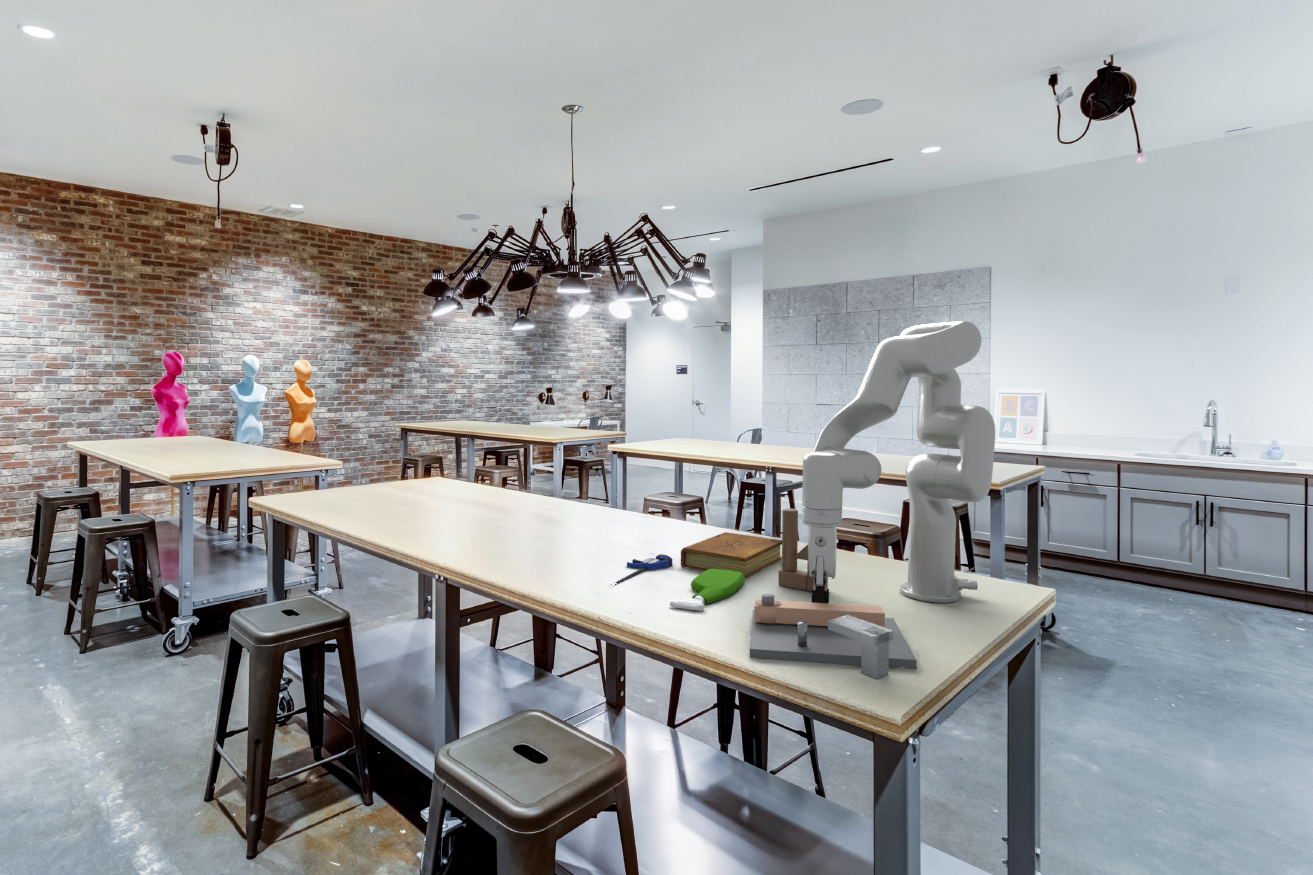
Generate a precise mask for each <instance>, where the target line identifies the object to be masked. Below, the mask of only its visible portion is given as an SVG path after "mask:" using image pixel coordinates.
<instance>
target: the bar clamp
mask: <svg viewBox="0 0 1313 875" xmlns="http://www.w3.org/2000/svg"><path fill="white" fill-rule="evenodd" d="M631 560H632V562H629V561H627V562H626V567H627V568H629V567H630V569H637V570H635V571H634V572H632V573H630V574H628V575H626V576H624V577H622V578H621V579H618V580H617V581H615V582H614V583H617V585H619V584H621V583H623V582H625V581H627V580H628V579H631V578H632V577H634V576H636V575H638V574H640V573H642V572H643V571H656V569H657V570H663V569H669V568H671V567H673V558H672V557H671V556H670V555H667V554H662V553H660V554H657V555H656V556H655V558H652V557H648V558H647V559H644V560H638V559H636V558H633V559H631ZM624 580H625V581H624ZM620 582H621V583H620ZM618 583H619V584H618ZM612 584H613V583H612ZM612 584H610V585H612ZM617 585H616V584H615V586H617Z"/></svg>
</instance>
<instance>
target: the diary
mask: <svg viewBox="0 0 1313 875" xmlns="http://www.w3.org/2000/svg"><path fill="white" fill-rule="evenodd" d="M781 546H782V539H777V538H772V537H770V538H769V537H763V536H756V535H750V534H749V535H748V534H741V533H733V532H726V531H725V532H723V533H719V534H716V535H715V536H714V535H713V536H712V537H708V538H706V539H704V540H701V541H698V542H696V543H693V544H690V545H688V546H684V547H683V548H682V549H681V550H680V566H681V567H682V568H684V569H685V568H686V569H690V570H691V569H692V570H696V571H701V572H702V571H703V572H705V571H706V570H709V569H721V570H729V571H737V572H742V574H743V575H744V577H745V579H748V578H749V576H750V577H751V576H753V575H755V574H757V573H759V572H761V571H763V570H765V569H766V567H767V568H769V567H771V566H772V565H774V564H776V563H778V562H780V561H782V560H781V559H782V556H781ZM779 560H780V561H779ZM777 561H778V562H777ZM775 562H776V563H775ZM768 566H769V567H768ZM764 568H765V569H764ZM762 569H763V570H762ZM756 572H757V573H756ZM754 573H755V574H754Z"/></svg>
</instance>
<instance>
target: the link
mask: <svg viewBox="0 0 1313 875" xmlns="http://www.w3.org/2000/svg"><path fill="white" fill-rule="evenodd" d="M811 602H812V601H811ZM811 602H810V601H809V602H808V601H791V600H790V601H789V600H775V595H774V594H771V593H762V594H761V599H754V605H753V606H754V607H753V608H754V609H753V610H754V622H761V623H769V624H770V623H784V624H798V622H799V621H805V622H807V625H817V626H828V621H829V620H832V619H835V618H838V617H842V616H845V615H849V616H852V617H855V618H858V619H861V620H864V621H867V622H870V623H873V624H876V625H879V626H882V627H885V618H886V616H885V615H886V612H885V610H884V609H883V607H882V606H881V605H867V604H866V605H864V604H863V605H861V604H847V603H846V604H845V603H842V604H841V603H830V602H829V603H811Z"/></svg>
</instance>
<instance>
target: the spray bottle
mask: <svg viewBox="0 0 1313 875" xmlns="http://www.w3.org/2000/svg"><path fill="white" fill-rule="evenodd" d="M745 581H746V578H745V577H744V575H743V574H742V572H737V571H729V570H721V569H709V570H706V571H703V572H701V573H700V574H698V575H696V577H694V578H693V579H692V580H691V582H690V587H691V590H692V591H693V592H694V593H696V594H693V596H692V597H691V598H687V599H685V598H684V597H683V596H680V599H679V600H676V601H669V606H670V607H672V608H673V607H674V608H676V609H683V610H692V611H698V610H699V611H700V612H701V611H702V612H705V605H709V604H711V603H715V602H718V601H721V600H724V599H727V598H729V597H731V596H732V595H734V594H736V593H737V592H738V591H739V590H741V589H742V587H743V586H744V584H745Z"/></svg>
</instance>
